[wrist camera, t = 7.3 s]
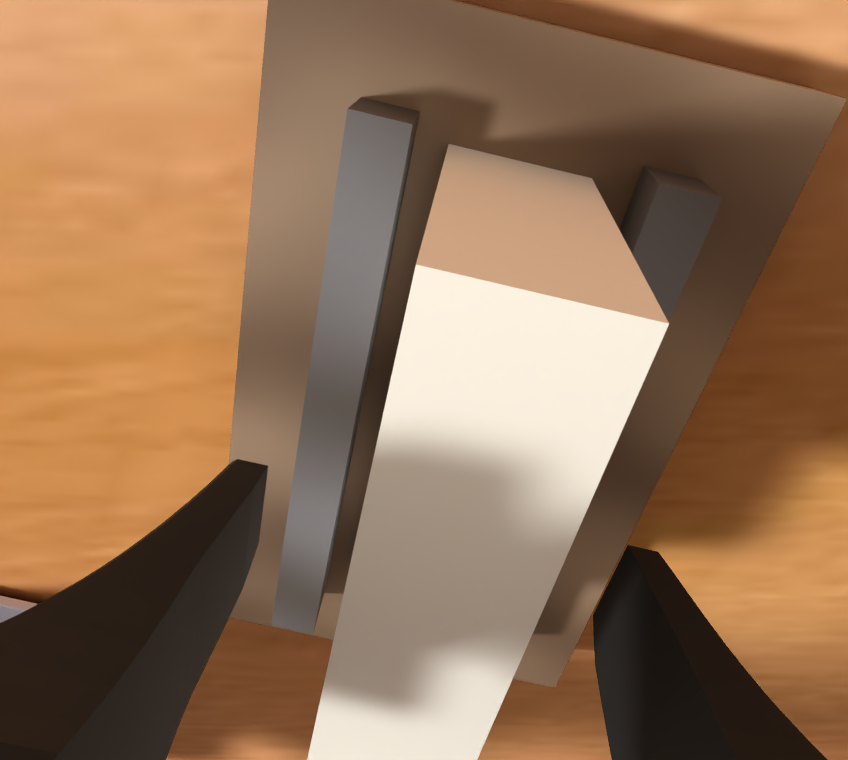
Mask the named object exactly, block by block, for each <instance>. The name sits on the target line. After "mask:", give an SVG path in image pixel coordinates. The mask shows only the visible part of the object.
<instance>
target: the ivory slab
mask: <svg viewBox="0 0 848 760" xmlns="http://www.w3.org/2000/svg"><path fill="white" fill-rule="evenodd" d="M668 325H669V322H668V321H667V319H666V317H665V315H664V313H663V311H662V309H661V307H660V305H659V304H658V302H657V300H656V298H655V296H654V294H653V292H652V290H651V289H650V287H649V285H648V283H647V281H646V279H645V277H644V275H643V273H642V272H641V270H640V268H639V266H638V264H637V262H636V260H635V258H634V257H633V255H632V253H631V251H630V249H629V247H628V245H627V243H626V242H625V240H624V238H623V236H622V234H621V232H620V230H619V228H618V226H617V225H616V223H615V221H614V219H613V217H612V215H611V213H610V211H609V210H608V208H607V206H606V204H605V202H604V200H603V198H602V196H601V194H600V193H599V191H598V189H597V187H596V185H595V183H594V181H593V179H592V178H589V177H585V176H580V175H576V174H572V173H568V172H564V171H560V170H555V169H551V168H547V167H543V166H539V165H535V164H531V163H526V162H522V161H518V160H514V159H510V158H506V157H501V156H497V155H493V154H489V153H485V152H481V151H477V150H472V149H468V148H464V147H460V146H456V145H452V144H449V145H448V148H447V152H446V156H445V159H444V163H443V167H442V170H441V174H440V178H439V181H438V185H437V189H436V192H435V196H434V200H433V203H432V207H431V211H430V214H429V218H428V222H427V225H426V229H425V233H424V236H423V240H422V244H421V247H420V251H419V255H418V258H417V262H416V266H415V271H414V275H413V280H412V284H411V289H410V293H409V298H408V303H407V307H406V312H405V316H404V321H403V325H402V330H401V334H400V339H399V344H398V348H397V353H396V357H395V362H394V366H393V371H392V375H391V380H390V385H389V389H388V394H387V398H386V403H385V407H384V412H383V416H382V421H381V426H380V430H379V435H378V439H377V444H376V448H375V453H374V457H373V462H372V467H371V471H370V476H369V480H368V485H367V489H366V494H365V498H364V503H363V508H362V512H361V517H360V521H359V526H358V530H357V535H356V539H355V544H354V549H353V553H352V558H351V562H350V567H349V571H348V576H347V580H346V585H345V590H344V594H343V599H342V603H341V608H340V612H339V617H338V621H337V626H336V631H335V635H334V640H333V644H332V649H331V653H330V658H329V662H328V667H327V672H326V676H325V681H324V685H323V690H322V694H321V699H320V703H319V708H318V713H317V717H316V722H315V726H314V731H313V735H312V740H311V745H310V749H309V754H308V758H307V760H477V759H478V756H479V754H480V752H481V750H482V747H483V745H484V743H485V741H486V738H487V736H488V734H489V731H490V729H491V727H492V725H493V722H494V720H495V718H496V716H497V713H498V711H499V709H500V706H501V704H502V702H503V700H504V697H505V695H506V693H507V691H508V688H509V686H510V684H511V682H512V679H513V677H514V675H515V672H516V670H517V668H518V666H519V663H520V661H521V659H522V657H523V654H524V652H525V650H526V648H527V645H528V643H529V641H530V638H531V636H532V634H533V632H534V629H535V627H536V625H537V623H538V620H539V618H540V616H541V613H542V611H543V609H544V607H545V604H546V602H547V600H548V598H549V595H550V593H551V591H552V589H553V586H554V584H555V582H556V579H557V577H558V575H559V573H560V570H561V568H562V566H563V564H564V561H565V559H566V557H567V555H568V552H569V550H570V548H571V545H572V543H573V541H574V539H575V536H576V534H577V532H578V530H579V527H580V525H581V523H582V520H583V518H584V516H585V514H586V511H587V509H588V507H589V505H590V502H591V500H592V498H593V496H594V493H595V491H596V489H597V486H598V484H599V482H600V480H601V477H602V475H603V473H604V471H605V468H606V466H607V464H608V462H609V459H610V457H611V455H612V452H613V450H614V448H615V446H616V443H617V441H618V439H619V437H620V434H621V432H622V430H623V427H624V425H625V423H626V421H627V418H628V416H629V414H630V412H631V409H632V407H633V405H634V403H635V400H636V398H637V396H638V393H639V391H640V389H641V387H642V384H643V382H644V380H645V378H646V375H647V373H648V371H649V369H650V366H651V364H652V362H653V359H654V357H655V355H656V353H657V350H658V348H659V346H660V344H661V341H662V339H663V337H664V334H665V332H666V330H667V328H668Z"/></svg>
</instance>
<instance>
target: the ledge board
mask: <svg viewBox="0 0 848 760" xmlns="http://www.w3.org/2000/svg"><path fill="white" fill-rule="evenodd" d="M846 100H847V99H846V98H843V97H839V96H836V95H833V94H830V93H826V92H823V91H820V90H817V89H813V88H809V87H805V86H801V85H797V84H793V83H789V82H785V81H781V80H777V79H773V78H769V77H765V76H761V75H757V74H753V73H749V72H745V71H741V70H737V69H733V68H729V67H725V66H721V65H717V64H712V63H708V62H704V61H700V60H696V59H692V58H688V57H684V56H680V55H676V54H672V53H668V52H664V51H660V50H656V49H652V48H648V47H644V46H640V45H636V44H632V43H628V42H624V41H620V40H616V39H612V38H608V37H604V36H599V35H595V34H591V33H587V32H583V31H579V30H575V29H571V28H567V27H563V26H559V25H555V24H551V23H547V22H543V21H539V20H535V19H531V18H527V17H523V16H519V15H515V14H511V13H507V12H503V11H499V10H495V9H491V8H486V7H482V6H478V5H474V4H470V3H466V2H462V1H458V0H268V8H267V20H266V32H265V44H264V56H263V67H262V79H261V91H260V103H259V115H258V126H257V138H256V150H255V162H254V174H253V185H252V197H251V209H250V221H249V232H248V244H247V256H246V268H245V280H244V291H243V303H242V315H241V327H240V339H239V350H238V362H237V374H236V386H235V398H234V409H233V421H232V433H231V445H230V456H229V464H230V463H231V462H233V461H235V460H236V459H240V460H245V461H249V462H254V463H258V464H263V465H267V466H268V472H267V481H266V489H265V497H264V505H263V513H262V521H261V529H260V537H259V544H258V547H257V550H256V552H255V555H254V558H253V561H252V564H251V567H250V570H249V573H248V575H247V578H246V581H245V584H244V587H243V589H242V592H241V594H240V596H239V598H238V600H237V602H236V604H235V606H234V608H233V610H232V612H231V614H230V617H229V618H232V619H237V620H242V621H246V622H251V623H255V624H260V625H265V626H269V627H274V628H279V629H283V630H288V631H293V632H297V633H302V634H306V635H311V636H316V637H320V638H325V639H330V640H334V635H335V631H336V626H337V621H338V617H339V612H340V608H341V603H342V599H343V594H344V590H345V585H346V580H347V576H348V571H349V567H350V562H351V558H352V553H353V549H354V544H355V539H356V535H357V530H358V526H359V521H360V517H361V512H362V508H363V503H364V498H365V494H366V489H367V485H368V480H369V476H370V471H371V467H372V462H373V457H374V453H375V448H376V444H377V439H378V435H379V430H380V426H381V421H382V416H383V412H384V407H385V403H386V398H387V394H388V389H389V385H390V380H391V375H392V371H393V366H394V362H395V357H396V353H397V348H398V344H399V339H400V334H401V330H402V325H403V321H404V316H405V312H406V307H407V303H408V298H409V293H410V289H411V284H412V280H413V275H414V271H415V266H416V262H417V258H418V255H419V251H420V247H421V244H422V240H423V236H424V233H425V229H426V225H427V222H428V218H429V214H430V211H431V207H432V203H433V200H434V196H435V192H436V189H437V185H438V181H439V178H440V174H441V170H442V167H443V163H444V159H445V156H446V152H447V148H448V145H449V144H452V145H456V146H460V147H464V148H468V149H472V150H477V151H481V152H485V153H489V154H493V155H497V156H501V157H506V158H510V159H514V160H518V161H522V162H526V163H531V164H535V165H539V166H543V167H547V168H551V169H555V170H560V171H564V172H568V173H572V174H576V175H580V176H585V177H589V178H592V179H593V181H594V183H595V185H596V187H597V189H598V191H599V193H600V194H601V196H602V198H603V200H604V202H605V204H606V206H607V208H608V210H609V211H610V213H611V215H612V217H613V219H614V221H615V223H616V225H617V226H618V228H619V230H620V232H621V234H622V236H623V238H624V240H625V242H626V243H627V245H628V247H629V249H630V251H631V253H632V255H633V257H634V258H635V260H636V262H637V264H638V266H639V268H640V270H641V272H642V273H643V275H644V277H645V279H646V281H647V283H648V285H649V287H650V289H651V290H652V292H653V294H654V296H655V298H656V300H657V302H658V304H659V305H660V307H661V309H662V311H663V313H664V315H665V317H666V319H667V321H668V322H669V325H668V328H667V330H666V332H665V334H664V337H663V339H662V341H661V344H660V346H659V348H658V350H657V353H656V355H655V357H654V359H653V362H652V364H651V366H650V369H649V371H648V373H647V375H646V378H645V380H644V382H643V384H642V387H641V389H640V391H639V393H638V396H637V398H636V400H635V403H634V405H633V407H632V409H631V412H630V414H629V416H628V418H627V421H626V423H625V425H624V427H623V430H622V432H621V434H620V437H619V439H618V441H617V443H616V446H615V448H614V450H613V452H612V455H611V457H610V459H609V462H608V464H607V466H606V468H605V471H604V473H603V475H602V477H601V480H600V482H599V484H598V486H597V489H596V491H595V493H594V496H593V498H592V500H591V502H590V505H589V507H588V509H587V511H586V514H585V516H584V518H583V520H582V523H581V525H580V527H579V530H578V532H577V534H576V536H575V539H574V541H573V543H572V545H571V548H570V550H569V552H568V555H567V557H566V559H565V561H564V564H563V566H562V568H561V570H560V573H559V575H558V577H557V579H556V582H555V584H554V586H553V589H552V591H551V593H550V595H549V598H548V600H547V602H546V604H545V607H544V609H543V611H542V613H541V616H540V618H539V620H538V623H537V625H536V627H535V629H534V632H533V634H532V636H531V638H530V641H529V643H528V645H527V648H526V650H525V652H524V654H523V657H522V659H521V661H520V663H519V666H518V668H517V670H516V672H515V675H514V677H513V679H515V680H520V681H525V682H529V683H534V684H539V685H543V686H548V687H552V688H555V687H556V685H557V683H558V681H559V679H560V677H561V675H562V673H563V671H564V669H565V667H566V665H567V663H568V661H569V658H570V656H571V654H572V652H573V650H574V648H575V646H576V644H577V642H578V640H579V638H580V636H581V634H582V632H583V630H584V628H585V626H586V624H587V622H588V620H589V618H590V616H591V614H592V612H593V610H594V608H595V606H596V604H597V602H598V600H599V598H600V596H601V594H602V592H603V590H604V588H605V586H606V584H607V582H608V580H609V578H610V576H611V574H612V572H613V570H614V568H615V566H616V564H617V562H618V560H619V558H620V556H621V554H622V552H623V550H624V548H625V546H626V544H627V542H628V540H629V538H630V536H631V534H632V532H633V529H634V527H635V525H636V523H637V521H638V519H639V517H640V515H641V513H642V511H643V509H644V507H645V505H646V503H647V501H648V499H649V497H650V495H651V493H652V491H653V489H654V487H655V485H656V483H657V481H658V479H659V477H660V475H661V473H662V471H663V469H664V467H665V465H666V463H667V461H668V459H669V457H670V455H671V453H672V451H673V449H674V447H675V445H676V443H677V441H678V439H679V437H680V435H681V433H682V431H683V429H684V427H685V425H686V423H687V421H688V419H689V417H690V415H691V413H692V411H693V409H694V407H695V405H696V402H697V400H698V398H699V396H700V394H701V392H702V390H703V388H704V386H705V384H706V382H707V380H708V378H709V376H710V374H711V372H712V370H713V368H714V366H715V364H716V362H717V360H718V358H719V356H720V354H721V352H722V350H723V348H724V346H725V344H726V342H727V340H728V338H729V336H730V334H731V332H732V330H733V328H734V326H735V324H736V322H737V320H738V318H739V316H740V314H741V312H742V310H743V308H744V306H745V304H746V302H747V300H748V298H749V296H750V294H751V292H752V290H753V288H754V286H755V284H756V282H757V280H758V278H759V276H760V273H761V271H762V269H763V267H764V265H765V263H766V261H767V259H768V257H769V255H770V253H771V251H772V249H773V247H774V245H775V243H776V241H777V239H778V237H779V235H780V233H781V231H782V229H783V227H784V225H785V223H786V221H787V219H788V217H789V215H790V213H791V211H792V209H793V207H794V205H795V203H796V201H797V199H798V197H799V195H800V193H801V191H802V189H803V187H804V185H805V183H806V181H807V179H808V177H809V175H810V173H811V171H812V169H813V167H814V165H815V163H816V161H817V159H818V157H819V155H820V153H821V151H822V149H823V146H824V144H825V142H826V140H827V138H828V136H829V134H830V132H831V130H832V128H833V126H834V124H835V122H836V120H837V118H838V116H839V114H840V112H841V110H842V108H843V106H844V104H845V102H846Z"/></svg>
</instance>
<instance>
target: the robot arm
mask: <svg viewBox="0 0 848 760" xmlns="http://www.w3.org/2000/svg"><path fill="white" fill-rule="evenodd" d="M267 472H268V466H267V465H263V464H258V463H254V462H249V461H245V460H240V459H236V460H235V461H233V462H231V463H230V464H229V465H228V466H227V467H226V468H225V469H224V470H223V471H222V472H221V473H220V474H219V475H218V476H217V477H216V478H215V479H213V480H212V481H211V482H210V483H209V484H208V485H207V486H206V487H205V488H204V489H203V490H201V491H200V492H199V493H198V494H197V495H196V496H195V497H193V498H192V499H191V500H190V501H189V502H188V503H186V504H185V505H184V506H183V507H182V508H180V509H179V510H178V511H177V512H176V513H174V514H173V515H172V516H171V517H169V518H168V519H167V520H166V521H165V522H163V523H162V524H161V525H160V526H158V527H157V528H156V529H154V530H153V531H152V532H150V533H149V534H148V535H146V536H145V537H144V538H142V539H141V540H139V541H138V542H137V543H135V544H134V545H133V546H131V547H130V548H129V549H127V550H126V551H124V552H123V553H122V554H120V555H119V556H117V557H116V558H114V559H113V560H111V561H110V562H108V563H107V564H105V565H104V566H102V567H101V568H99V569H98V570H96V571H94V572H93V573H91V574H89V575H88V576H86V577H85V578H83V579H81V580H80V581H78V582H76V583H75V584H73V585H71V586H70V587H68V588H66V589H64V590H62V591H61V592H59V593H57V594H55V595H54V596H52V597H50V598H48V599H46V600H45V601H43V602H41V603H39V604H37V603H32V602H28V601H23V600H18V599H14V598H9V597H4V596H0V760H166V758H167V755H168V752H169V750H170V747H171V744H172V742H173V739H174V737H175V734H176V731H177V729H178V726H179V723H180V721H181V718H182V715H183V713H184V711H185V708H186V706H187V704H188V702H189V699H190V697H191V695H192V693H193V690H194V688H195V686H196V684H197V682H198V680H199V678H200V676H201V674H202V672H203V670H204V668H205V666H206V664H207V662H208V660H209V658H210V656H211V654H212V651H213V649H214V647H215V645H216V643H217V641H218V639H219V637H220V635H221V633H222V631H223V629H224V627H225V625H226V623H227V621H228V619H229V617H230V614H231V612H232V610H233V608H234V606H235V604H236V602H237V600H238V598H239V596H240V594H241V592H242V589H243V587H244V584H245V581H246V578H247V575H248V573H249V570H250V567H251V564H252V561H253V558H254V555H255V552H256V550H257V547H258V544H259V537H260V529H261V521H262V513H263V505H264V497H265V489H266V481H267ZM593 627H594V651H595V666H596V672H597V678H598V684H599V690H600V696H601V702H602V707H603V713H604V718H605V724H606V730H607V735H608V741H609V746H610V752H611V757H612V760H827V759H826V758H825V757H824V756H823V755H822V754H821V753H820V752H819V751H818V750H817V749H816V748H815V747H814V746H813V745H812V744H811V743H810V742H809V741H808V740H807V739H806V737H805V736H804V735H803V734H802V733H801V732H800V731H799V730H798V729H797V728H796V727H795V726H794V725H793V724H792V723H791V721H790V720H789V719H788V718H787V717H786V716H785V715H784V714H783V713H782V712H781V711H780V710H779V709H778V707H777V706H776V705H775V704H774V703H773V702H772V701H771V699H770V698H769V697H768V696H767V695H766V694H765V693H764V691H763V690H762V689H761V688H760V687H759V685H758V684H757V683H756V682H755V681H754V679H753V678H752V677H751V676H750V674H749V673H748V672H747V671H746V670H745V668H744V667H743V666H742V665H741V664H740V662H739V661H738V660H737V658H736V657H735V656H734V655H733V653H732V652H731V651H730V650H729V648H728V647H727V646H726V644H725V643H724V642H723V640H722V639H721V638H720V636H719V635H718V634H717V632H716V631H715V630H714V628H713V627H712V626H711V624H710V623H709V622H708V620H707V619H706V618H705V616H704V615H703V613H702V612H701V611H700V609H699V608H698V607H697V605H696V604H695V602H694V601H693V600H692V598H691V597H690V595H689V594H688V593H687V591H686V590H685V588H684V587H683V586H682V584H681V583H680V581H679V580H678V579H677V577H676V576H675V574H674V573H673V572H672V570H671V569H670V567H669V566H668V565H667V563H666V562H665V561H664V559H663V558H662V557H661V555H660V554H659V553H658V552H656V551H652V550H647V549H643V548H638V547H634V546H629V545H628V546H627V548H626V550H625V552H624V554H623V556H622V558H621V560H620V562H619V564H618V566H617V568H616V570H615V572H614V574H613V576H612V578H611V580H610V582H609V584H608V586H607V588H606V590H605V592H604V594H603V596H602V598H601V600H600V602H599V604H598V606H597V609H596V611H595V613H594V615H593Z"/></svg>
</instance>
